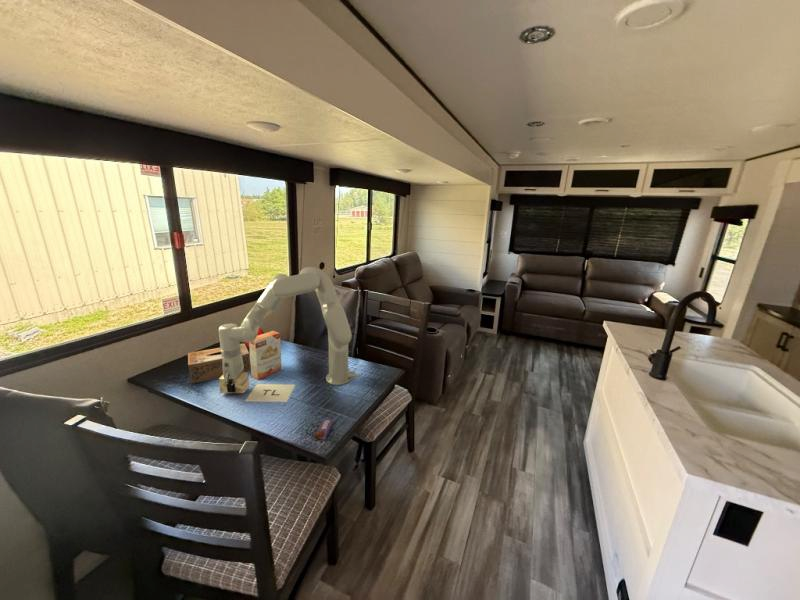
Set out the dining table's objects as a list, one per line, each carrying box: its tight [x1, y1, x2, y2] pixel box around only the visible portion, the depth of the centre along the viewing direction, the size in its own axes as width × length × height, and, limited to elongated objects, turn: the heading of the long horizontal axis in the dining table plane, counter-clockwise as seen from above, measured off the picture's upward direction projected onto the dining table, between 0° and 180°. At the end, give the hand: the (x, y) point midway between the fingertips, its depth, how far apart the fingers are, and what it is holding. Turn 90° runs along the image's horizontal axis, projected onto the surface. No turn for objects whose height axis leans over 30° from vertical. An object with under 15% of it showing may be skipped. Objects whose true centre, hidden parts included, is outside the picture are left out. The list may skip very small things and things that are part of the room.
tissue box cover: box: [187, 342, 251, 384], centre depth 155 cm, size 26×14×10 cm, turn 125°
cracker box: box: [248, 330, 282, 380], centre depth 154 cm, size 14×6×21 cm, turn 148°
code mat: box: [244, 383, 296, 403], centre depth 140 cm, size 18×14×1 cm
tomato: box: [244, 327, 265, 348], centre depth 182 cm, size 12×12×13 cm
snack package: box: [312, 418, 337, 440], centre depth 118 cm, size 12×2×5 cm
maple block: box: [218, 371, 250, 394], centre depth 137 cm, size 10×6×7 cm, turn 94°
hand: (235, 387), depth 138 cm, fingers closed on maple block, 6 cm apart
